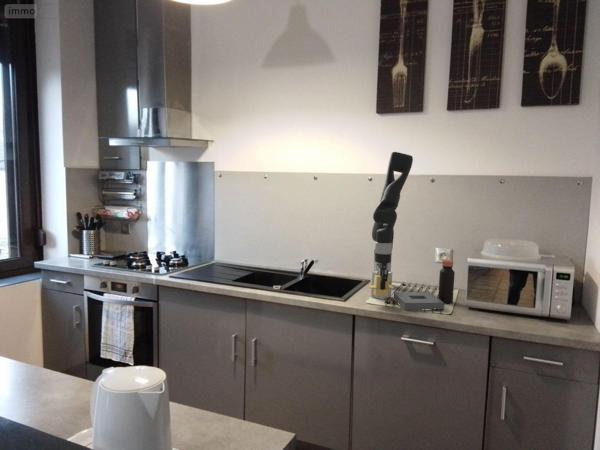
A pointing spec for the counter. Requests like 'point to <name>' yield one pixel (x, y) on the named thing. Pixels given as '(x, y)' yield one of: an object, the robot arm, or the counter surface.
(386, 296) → the supplement box
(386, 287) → the servo block
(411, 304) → the plate
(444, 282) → the bottle
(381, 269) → the robot arm
